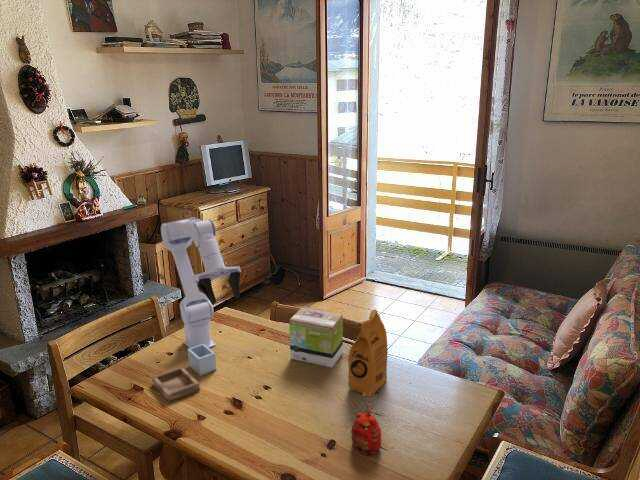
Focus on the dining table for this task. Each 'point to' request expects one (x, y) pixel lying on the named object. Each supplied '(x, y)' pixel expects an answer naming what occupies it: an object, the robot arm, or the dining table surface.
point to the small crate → (202, 359)
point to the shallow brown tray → (176, 384)
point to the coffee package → (368, 356)
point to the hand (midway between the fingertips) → (226, 300)
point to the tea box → (316, 337)
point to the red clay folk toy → (366, 432)
